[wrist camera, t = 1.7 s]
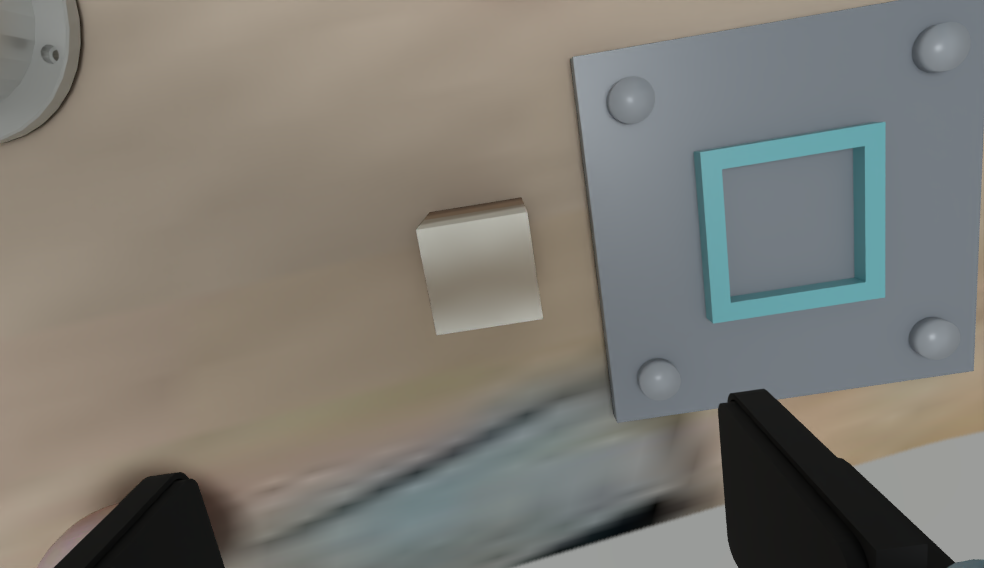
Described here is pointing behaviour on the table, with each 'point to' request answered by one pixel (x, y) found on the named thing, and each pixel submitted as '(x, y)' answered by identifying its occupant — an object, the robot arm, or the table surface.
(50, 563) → the decorative fruit
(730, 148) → the baseplate
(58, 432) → the table surface
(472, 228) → the smooth beige block
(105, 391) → the table surface
